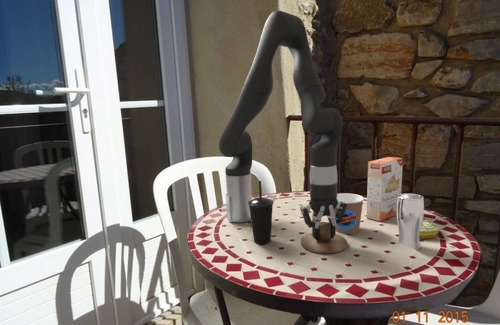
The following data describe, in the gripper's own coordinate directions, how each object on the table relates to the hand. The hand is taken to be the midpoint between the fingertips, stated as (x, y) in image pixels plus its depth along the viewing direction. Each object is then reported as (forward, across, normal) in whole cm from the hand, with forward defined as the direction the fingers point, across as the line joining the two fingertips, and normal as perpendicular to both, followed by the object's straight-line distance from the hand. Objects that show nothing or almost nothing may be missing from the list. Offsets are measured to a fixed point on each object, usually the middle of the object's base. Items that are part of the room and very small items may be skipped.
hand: (323, 238), depth 98 cm
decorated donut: (+4, -33, 0) cm, 33 cm away
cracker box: (+4, -33, -18) cm, 38 cm away
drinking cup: (+4, +16, -9) cm, 19 cm away
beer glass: (+4, -23, +7) cm, 24 cm away
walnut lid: (+2, 0, 0) cm, 2 cm away
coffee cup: (+4, -12, -8) cm, 15 cm away
